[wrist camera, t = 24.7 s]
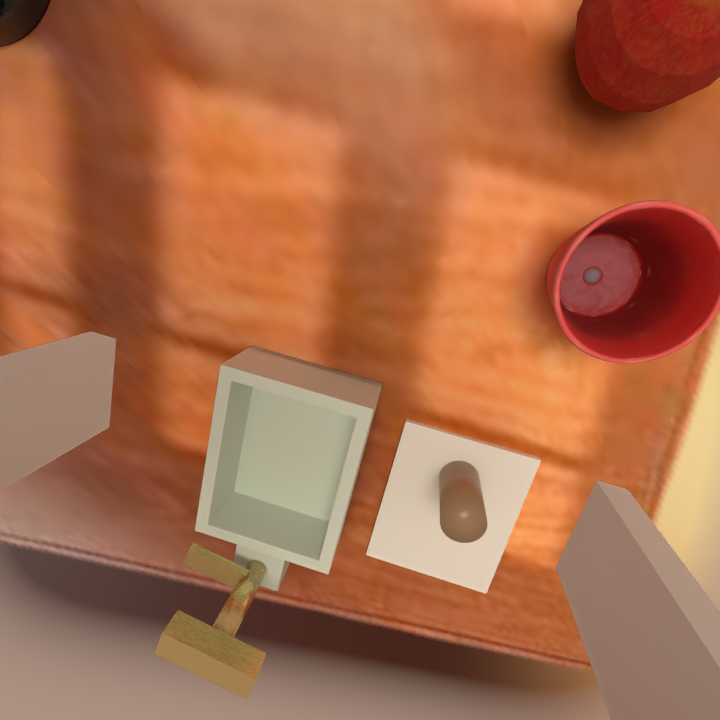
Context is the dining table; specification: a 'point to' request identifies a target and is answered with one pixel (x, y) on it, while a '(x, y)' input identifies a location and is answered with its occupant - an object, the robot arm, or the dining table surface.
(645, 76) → the apple
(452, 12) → the dining table surface
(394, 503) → the cover
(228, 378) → the junction box
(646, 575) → the robot arm
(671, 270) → the flower pot
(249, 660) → the t key
